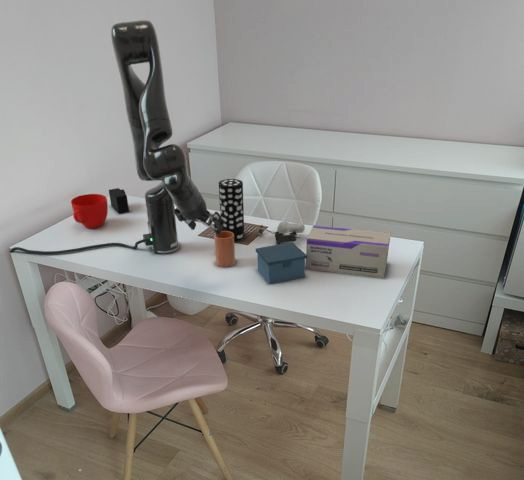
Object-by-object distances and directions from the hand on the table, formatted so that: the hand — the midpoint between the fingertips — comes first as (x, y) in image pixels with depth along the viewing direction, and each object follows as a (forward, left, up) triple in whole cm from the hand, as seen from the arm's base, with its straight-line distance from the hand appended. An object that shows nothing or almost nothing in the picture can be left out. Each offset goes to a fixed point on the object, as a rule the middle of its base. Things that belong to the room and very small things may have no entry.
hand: (206, 229), depth 163 cm
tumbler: (+7, +7, -15) cm, 19 cm away
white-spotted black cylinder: (+16, +26, -16) cm, 34 cm away
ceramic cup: (-31, +56, -16) cm, 66 cm away
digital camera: (-16, +71, -16) cm, 74 cm away
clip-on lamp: (+32, +19, -16) cm, 40 cm away
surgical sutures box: (+43, -10, -16) cm, 47 cm away
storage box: (+22, -7, -15) cm, 27 cm away
